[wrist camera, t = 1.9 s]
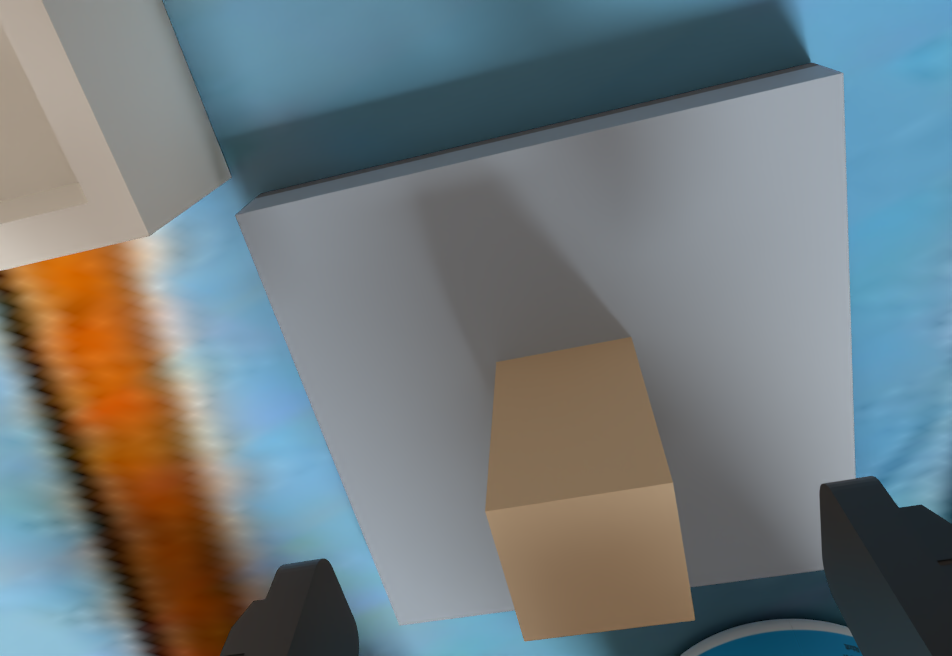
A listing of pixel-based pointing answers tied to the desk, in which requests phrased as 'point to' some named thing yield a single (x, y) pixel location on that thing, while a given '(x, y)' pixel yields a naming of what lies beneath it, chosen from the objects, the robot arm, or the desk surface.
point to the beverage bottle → (779, 640)
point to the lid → (583, 354)
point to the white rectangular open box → (96, 127)
